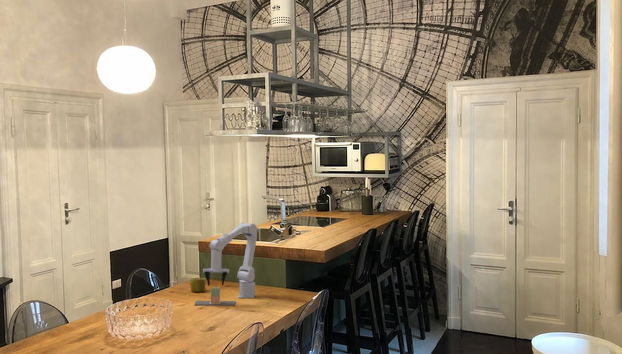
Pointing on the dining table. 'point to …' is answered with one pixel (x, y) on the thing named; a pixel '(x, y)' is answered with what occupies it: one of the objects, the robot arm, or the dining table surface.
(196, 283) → the mug
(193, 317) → the dining table surface
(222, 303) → the baseplate
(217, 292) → the green brick
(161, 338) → the dining table surface
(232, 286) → the dining table surface
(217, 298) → the terracotta brick
